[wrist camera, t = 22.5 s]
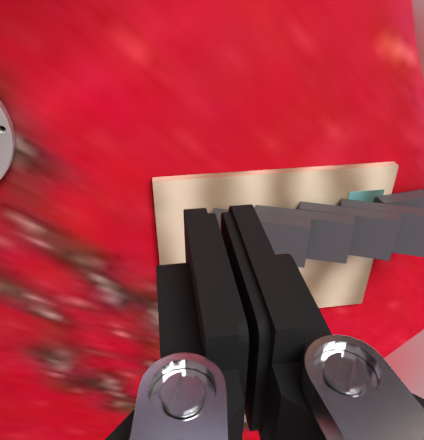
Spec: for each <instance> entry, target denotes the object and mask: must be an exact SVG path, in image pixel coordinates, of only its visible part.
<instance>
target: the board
mask: <svg viewBox="0 0 424 440" xmlns="http://www.w3.org/2000/svg"><path fill="white" fill-rule="evenodd" d="M398 167H399V165H398V164H396V163H395V162H379V163H364V164H349V165H333V166H318V167H303V168H287V169H272V170H256V171H241V172H226V173H210V174H195V175H179V176H164V177H152V184H153V195H154V206H155V217H156V228H157V240H158V251H159V262H160V265H167V264H178V263H186V258H185V237H184V214H183V212H184V209H195V208H206V209H207V213H212V211H213V209H214V208H219V209H227V210H229V207H230V206H235V205H248V204H252V205H253V206H254V209H255V207H256V205H262V206H271V207H280V208H289V209H299V207H300V201H302V202H310V203H319V204H327V205H336V206H340V202H341V198H342V199H350V200H358V201H366V202H375V198H376V196H382V195H389V194H391V193H392V189H393V186H394V182H395V178H396V174H397V171H398ZM373 260H374V259H373V258H366V257H359V256H352V255H348V257H347V262H346V264H344V263H336V262H328V261H321V260H313V259H306V261H305V267H304V268H302V267H298V269H299V271H300V273H301V275H302V277H303V279H304V281H305V282H306V284H307V286H308V288H309V290H310V292H311V294H312V296H313V298H314V300H315V302H316V304H317V306H318V308H323V307H333V306H342V305H351V304H360V303H362V300H363V297H364V293H365V289H366V286H367V282H368V278H369V274H370V271H371V267H372V263H373Z"/></svg>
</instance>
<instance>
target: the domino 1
mask: <svg viewBox="0 0 424 440" xmlns="http://www.w3.org/2000/svg"><path fill="white" fill-rule="evenodd" d="M228 211H229V210H227V209H219V208H214V209H213V211H212V213H215V214H216V217H217V220H218V224H219V227H220V231H221V213H222V212H228ZM257 215H258V217H259V220H260V222H261V224H262V226H263V228H264V231H265V233H266V235H267V237H268V239H269V242H270V244H271V246H272V248H273V250H274V253H275V255H277V254H290V255H291V256H292V257H293V259H294V261H295V263H296V265H297V267H302V268H304V267H305V261H306V255H307V249H308V242H309V236H310V230H311V219H305V218H296V217H288V216H279V215H270V214H262V213H257Z"/></svg>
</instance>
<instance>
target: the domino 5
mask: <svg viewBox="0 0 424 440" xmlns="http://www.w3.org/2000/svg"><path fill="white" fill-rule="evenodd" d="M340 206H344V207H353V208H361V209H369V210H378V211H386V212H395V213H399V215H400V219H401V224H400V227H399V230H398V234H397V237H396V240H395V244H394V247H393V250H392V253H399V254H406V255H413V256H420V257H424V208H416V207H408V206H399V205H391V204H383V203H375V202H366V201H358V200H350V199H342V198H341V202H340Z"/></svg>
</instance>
